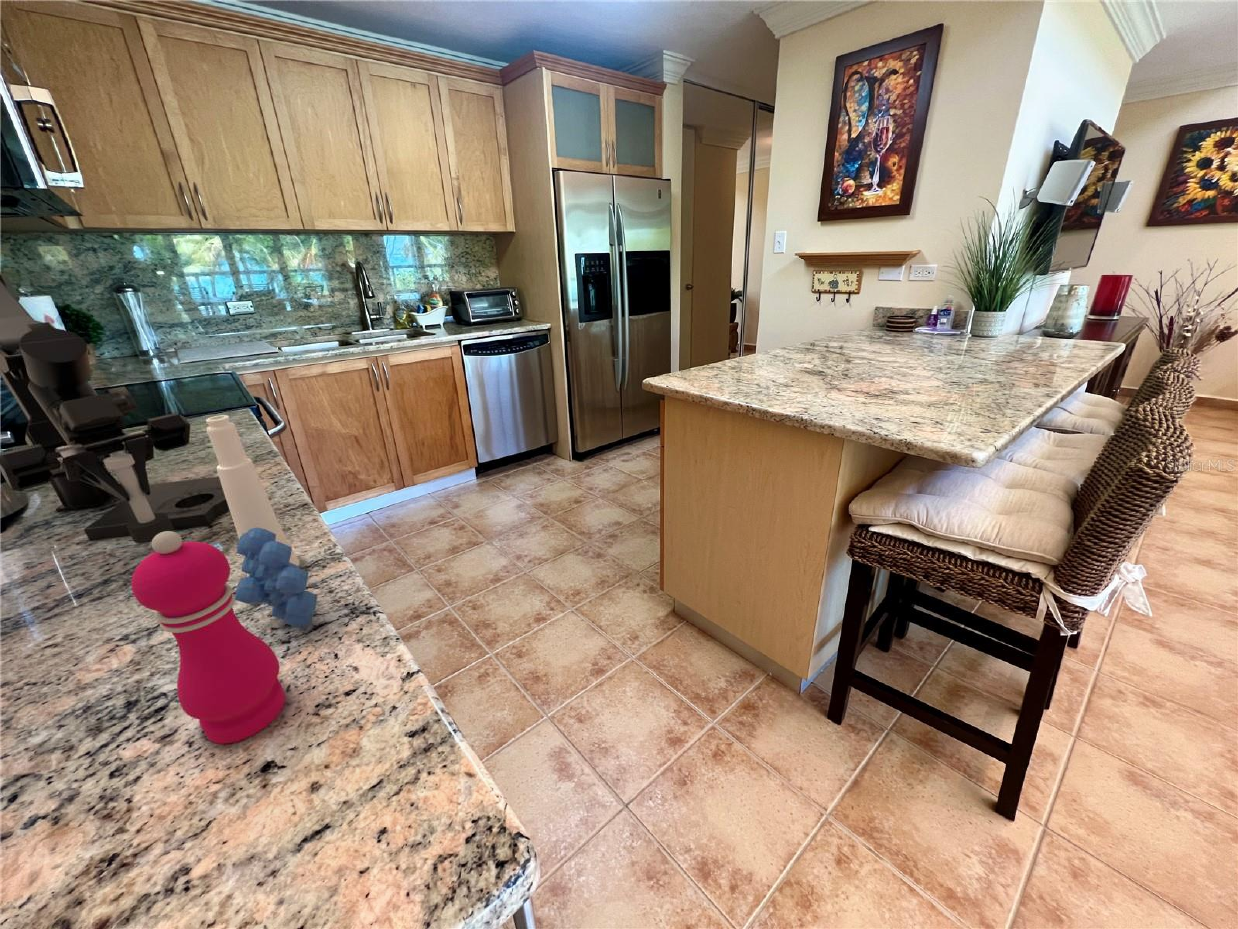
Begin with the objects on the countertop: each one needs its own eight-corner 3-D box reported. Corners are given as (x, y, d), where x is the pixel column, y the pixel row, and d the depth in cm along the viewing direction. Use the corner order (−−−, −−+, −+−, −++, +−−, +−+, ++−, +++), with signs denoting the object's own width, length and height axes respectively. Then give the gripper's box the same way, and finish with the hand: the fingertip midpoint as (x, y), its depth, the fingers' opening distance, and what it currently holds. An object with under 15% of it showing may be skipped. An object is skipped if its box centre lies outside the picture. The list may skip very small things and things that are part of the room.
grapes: (228, 623, 58) (189, 536, 53) (288, 591, 63) (258, 509, 58) (278, 662, 52) (240, 568, 47) (340, 623, 58) (311, 535, 53)
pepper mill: (231, 686, 50) (149, 512, 41) (306, 680, 50) (239, 507, 42) (179, 753, 43) (69, 563, 35) (265, 746, 43) (177, 556, 35)
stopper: (126, 545, 69) (86, 466, 64) (145, 529, 73) (108, 453, 68) (163, 540, 70) (126, 461, 65) (180, 525, 74) (146, 449, 69)
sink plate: (89, 540, 76) (83, 529, 75) (151, 494, 90) (146, 484, 89) (215, 524, 79) (211, 513, 79) (255, 482, 94) (252, 472, 93)
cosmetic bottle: (236, 579, 66) (172, 423, 57) (279, 554, 71) (225, 408, 62) (269, 588, 64) (207, 428, 55) (310, 562, 69) (259, 412, 60)
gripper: (-45, 389, 56) (30, 498, 55) (159, 358, 71) (221, 443, 70) (-22, 441, 63) (45, 538, 63) (159, 403, 78) (215, 481, 77)
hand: (138, 497), depth 68 cm, fingers closed on stopper, 2 cm apart
